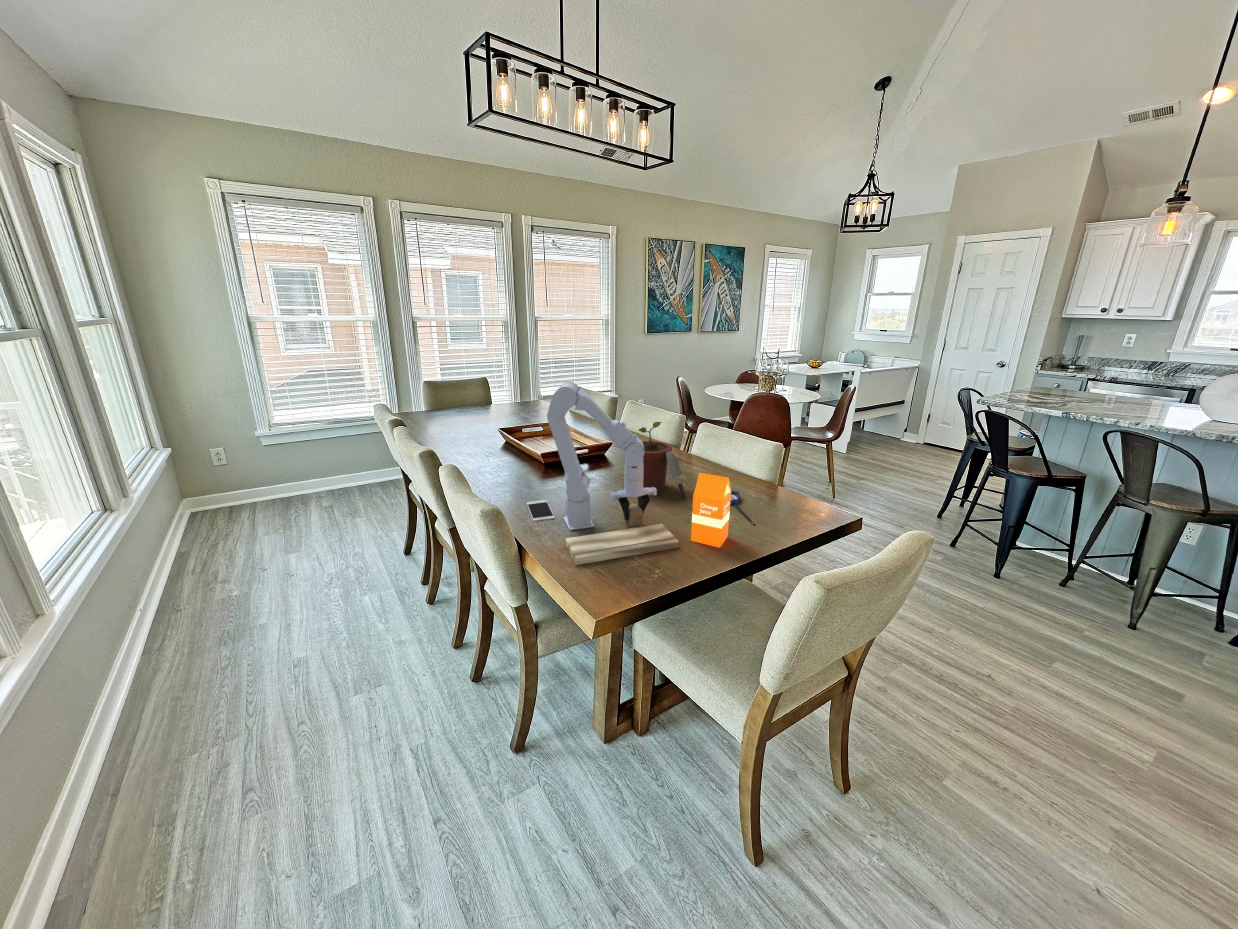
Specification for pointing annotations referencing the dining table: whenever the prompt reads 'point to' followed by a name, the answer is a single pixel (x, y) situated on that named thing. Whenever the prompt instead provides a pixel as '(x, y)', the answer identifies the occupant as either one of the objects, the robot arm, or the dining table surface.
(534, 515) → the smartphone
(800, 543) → the dining table surface
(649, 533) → the pine board
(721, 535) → the orange juice
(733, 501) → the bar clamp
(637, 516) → the block
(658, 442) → the potted plant
